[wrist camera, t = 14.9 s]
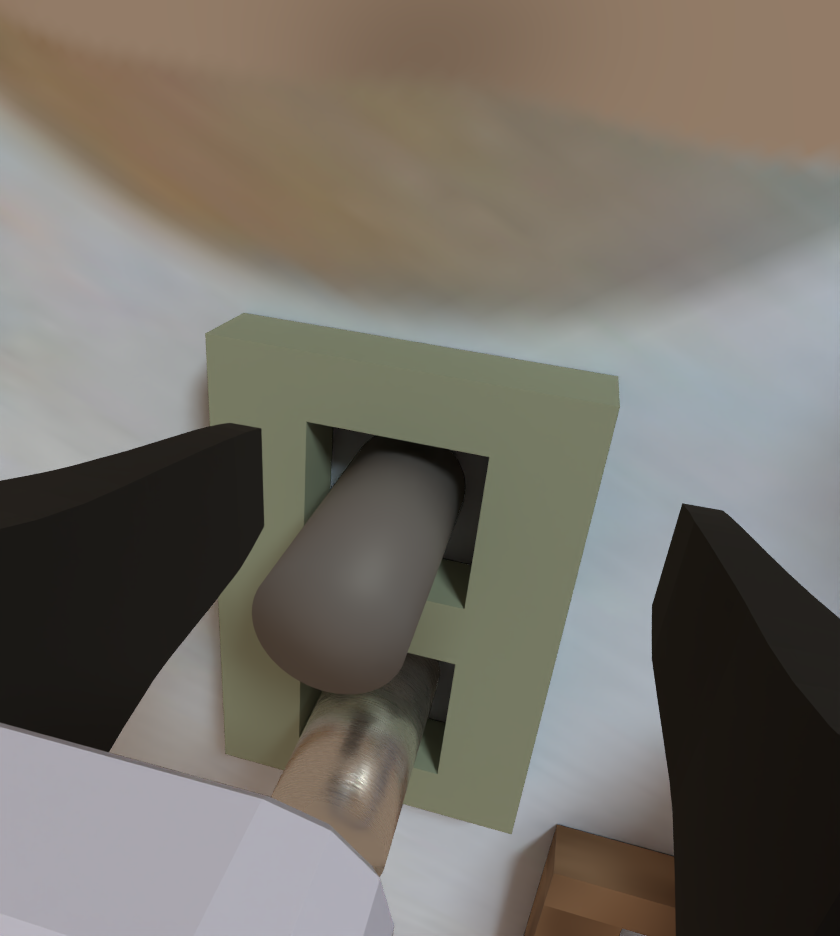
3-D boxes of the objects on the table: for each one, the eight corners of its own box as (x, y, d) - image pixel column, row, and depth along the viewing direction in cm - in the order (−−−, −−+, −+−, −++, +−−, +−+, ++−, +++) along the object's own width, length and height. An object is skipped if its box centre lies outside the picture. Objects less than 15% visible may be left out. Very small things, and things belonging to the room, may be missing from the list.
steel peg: (460, 670, 27) (412, 861, 20) (397, 716, 29) (333, 904, 22) (384, 606, 27) (307, 779, 20) (325, 657, 28) (235, 831, 22)
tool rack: (618, 376, 21) (625, 507, 14) (518, 780, 29) (491, 989, 22) (243, 312, 23) (82, 399, 16) (252, 709, 31) (150, 880, 24)
